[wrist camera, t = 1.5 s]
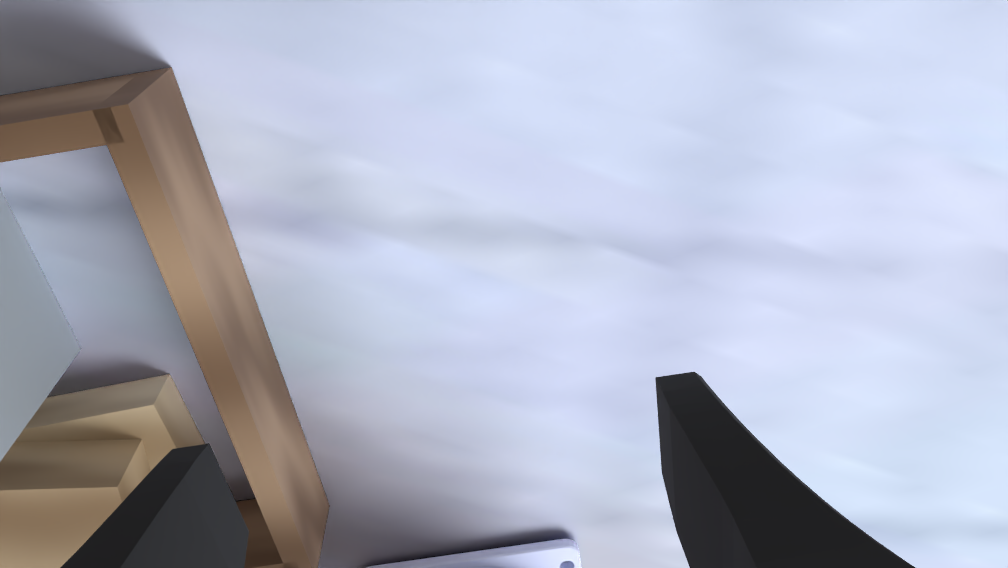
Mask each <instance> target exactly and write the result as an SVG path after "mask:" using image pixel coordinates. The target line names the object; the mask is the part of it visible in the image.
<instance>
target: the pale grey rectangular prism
mask: <svg viewBox="0 0 1008 568" xmlns="http://www.w3.org/2000/svg"><path fill="white" fill-rule="evenodd" d="M81 349H82V348H81V346H80V344H79V342H78V340H77V338H76V336H75V334H74V332H73V330H72V328H71V326H70V324H69V322H68V321H67V319H66V317H65V315H64V313H63V311H62V309H61V307H60V305H59V303H58V301H57V299H56V297H55V295H54V293H53V291H52V289H51V287H50V285H49V283H48V281H47V279H46V277H45V275H44V273H43V271H42V269H41V267H40V265H39V263H38V261H37V259H36V257H35V255H34V253H33V251H32V249H31V247H30V245H29V243H28V241H27V239H26V237H25V235H24V234H23V232H22V230H21V228H20V226H19V224H18V222H17V220H16V218H15V216H14V214H13V212H12V210H11V208H10V206H9V204H8V202H7V200H6V198H5V196H4V194H3V192H2V190H1V188H0V461H1V460H2V459H3V457H4V456H5V454H6V453H7V452H8V450H9V449H10V447H11V446H12V445H13V443H14V442H15V441H16V439H17V438H18V436H19V435H20V434H21V432H22V431H23V429H24V428H25V427H26V425H27V424H28V422H29V421H30V420H31V418H32V417H33V416H34V414H35V413H36V411H37V410H38V409H39V407H40V406H41V404H42V403H43V402H44V400H45V399H46V398H47V396H48V395H49V393H50V392H51V391H52V389H53V388H54V386H55V385H56V384H57V382H58V381H59V380H60V378H61V377H62V375H63V374H64V373H65V371H66V370H67V368H68V367H69V366H70V364H71V363H72V362H73V360H74V359H75V357H76V356H77V355H78V353H79V352H80V350H81Z"/></svg>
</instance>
